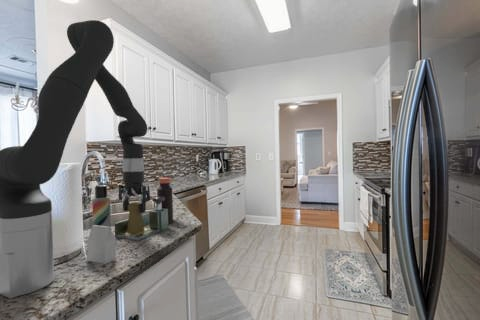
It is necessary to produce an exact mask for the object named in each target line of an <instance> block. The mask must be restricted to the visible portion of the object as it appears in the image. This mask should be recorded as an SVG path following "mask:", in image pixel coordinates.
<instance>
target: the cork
mask: <svg viewBox="0 0 480 320" xmlns="http://www.w3.org/2000/svg"><path fill="white" fill-rule="evenodd" d="M127 212H129V213H128V219H129V221H128V229H127V233H139V232H142V231H144V226H143V220H142V215H143V213H139V201H137V202H136V201H135V202H134V201H133V202H129V205H128V211H127Z"/></svg>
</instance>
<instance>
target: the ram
mask: <svg viewBox="0 0 480 320" xmlns="http://www.w3.org/2000/svg"><path fill="white" fill-rule="evenodd" d="M151 200H152V202H153V203H155V204H154V205H155V208H154V209H156V211H162V202H161V201H164V197H157V196H154V197H151Z"/></svg>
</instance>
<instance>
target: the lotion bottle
mask: <svg viewBox="0 0 480 320" xmlns="http://www.w3.org/2000/svg"><path fill="white" fill-rule="evenodd" d="M94 193H95V194H94V195H95V196H94V198H92V200H91V201H92V203H91V204H92V225H98V226H107V227H111V228H112V223H111V220H112V219H111V197H110V196H108V186H107V185H106V184H105V185H104V184H96V185H95V187H94Z"/></svg>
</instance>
